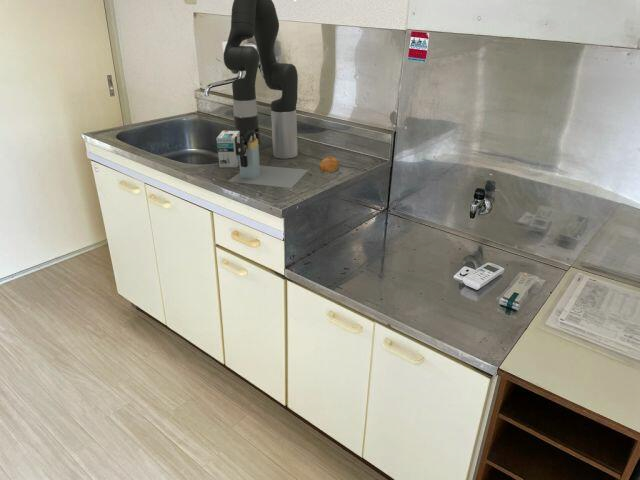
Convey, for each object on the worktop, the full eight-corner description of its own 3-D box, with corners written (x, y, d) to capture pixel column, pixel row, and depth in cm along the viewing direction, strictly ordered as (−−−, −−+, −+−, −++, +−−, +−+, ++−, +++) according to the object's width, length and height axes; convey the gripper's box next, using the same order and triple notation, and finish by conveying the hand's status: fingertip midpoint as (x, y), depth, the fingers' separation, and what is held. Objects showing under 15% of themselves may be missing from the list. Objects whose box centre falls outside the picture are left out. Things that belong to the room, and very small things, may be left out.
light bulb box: (237, 168, 170) (235, 138, 165) (218, 168, 171) (215, 138, 166) (242, 158, 180) (240, 130, 175) (224, 158, 180) (222, 130, 175)
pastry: (338, 175, 164) (338, 164, 162) (318, 175, 164) (318, 164, 162) (339, 166, 172) (339, 156, 170) (320, 166, 172) (320, 156, 171)
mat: (250, 165, 172) (250, 164, 172) (308, 171, 167) (308, 169, 167) (227, 182, 157) (227, 181, 157) (291, 189, 151) (291, 187, 151)
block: (246, 172, 164) (243, 138, 159) (260, 174, 163) (257, 139, 158) (240, 177, 160) (237, 142, 155) (254, 178, 159) (251, 143, 153)
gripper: (244, 108, 159) (247, 155, 166) (224, 117, 147) (229, 168, 154) (265, 109, 157) (268, 157, 165) (247, 119, 145) (251, 170, 152)
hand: (249, 162), depth 159 cm, fingers open, 8 cm apart
